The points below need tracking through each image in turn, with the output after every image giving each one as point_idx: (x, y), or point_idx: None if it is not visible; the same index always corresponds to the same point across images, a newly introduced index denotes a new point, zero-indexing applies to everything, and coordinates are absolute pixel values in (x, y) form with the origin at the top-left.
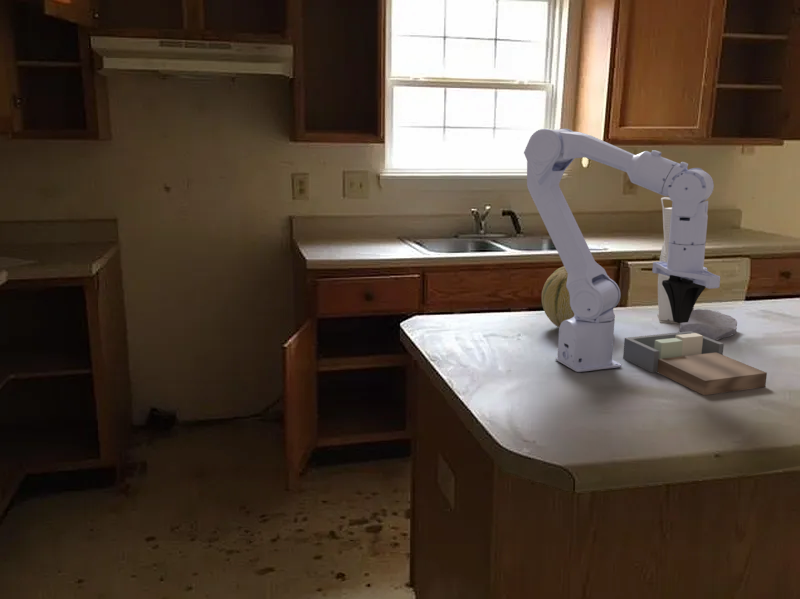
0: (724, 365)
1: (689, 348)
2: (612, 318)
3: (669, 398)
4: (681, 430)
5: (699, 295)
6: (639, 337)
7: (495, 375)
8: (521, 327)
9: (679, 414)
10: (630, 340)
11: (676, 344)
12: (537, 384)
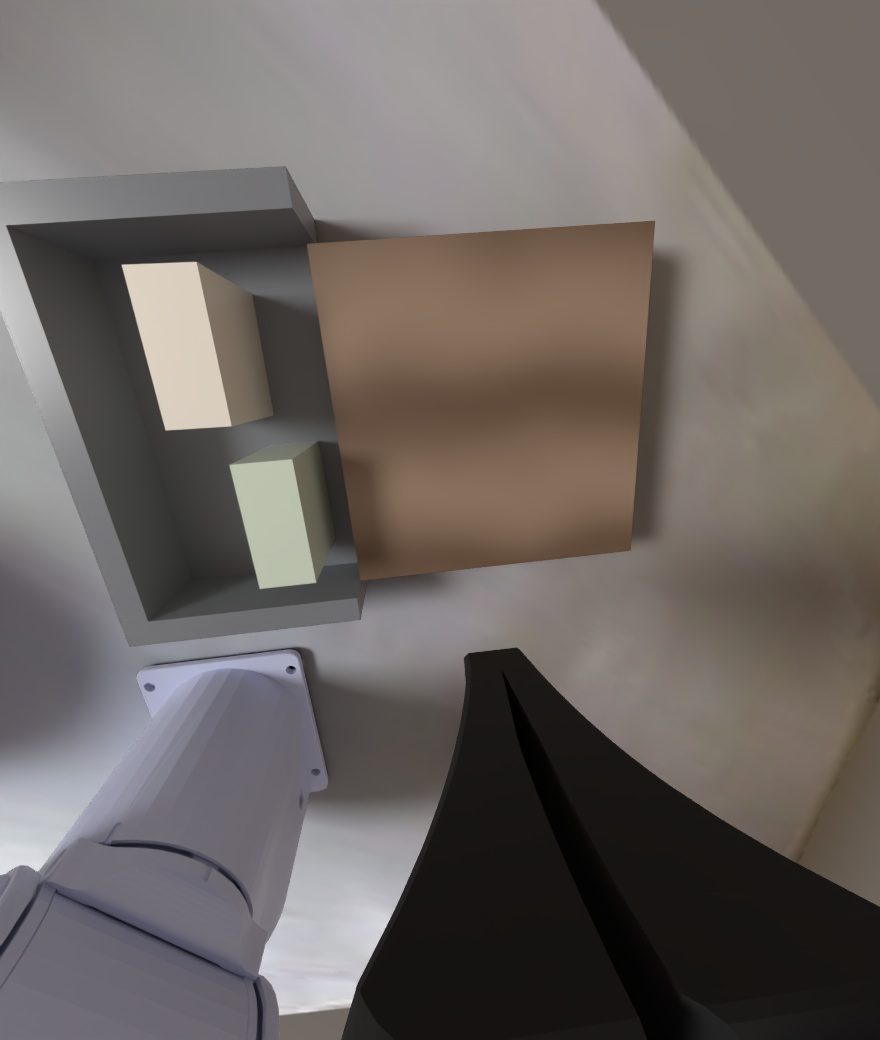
0: (506, 356)
1: (245, 369)
2: (218, 884)
3: (587, 636)
4: (760, 705)
5: (710, 815)
6: (123, 580)
7: (312, 937)
8: None
9: (688, 666)
10: (177, 640)
11: (303, 494)
12: (396, 877)
